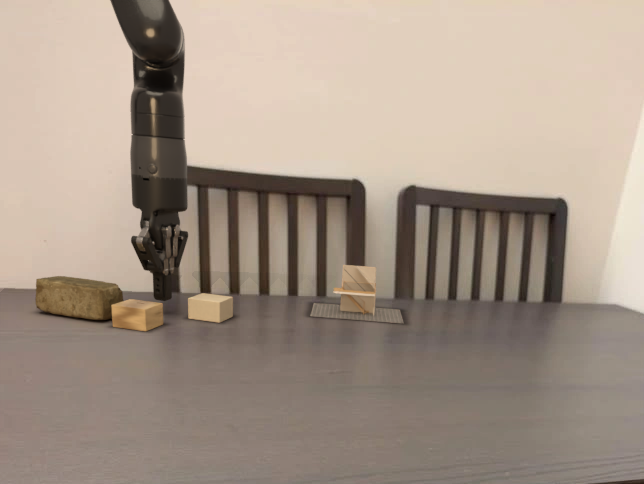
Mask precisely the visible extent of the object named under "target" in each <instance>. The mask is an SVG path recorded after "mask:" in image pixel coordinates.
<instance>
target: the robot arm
mask: <svg viewBox="0 0 644 484" xmlns="http://www.w3.org/2000/svg"><path fill="white" fill-rule="evenodd" d="M109 1H110V3H111V6H112V10H113V12H114V15H115V17H116V20H117V22H118V24H119V28H120V30H121V32H122V34H123V37H124V39H125V41H126V43H127V45H128V47H129V49H130V50H131V55H132V56H131V57H132V71H133V72H132V76H133V89H132V92H131V94H130V104H129V105H130V107H129V108H130V109H129V111H130V130H131V132H130V133H131V134H130V135H131V136H130V138H131V140H130V151H129V153H130V155H129V156H130V158H129V159H130V160H129V161H130V181H131V203H132V206H133V208H135V209H138V210H140V211H141V216H140V220H139V226H140V227H139V228H140V232H139V234H138V235H132V236H131V238H130V243H131V245H132V248H133V250H134V252H135V254H136V256H137V258H138V260H139V262H140V264H141V267H142V268H143V270H144V271H148V272H149V273H150V274H152V289H153V292H152V293H153V294H152V295H153V299H154V300H155V301H162V302H166V301H170V300H171V299H172V298H173V287H172V285H173V284H172V283H173V281H172V274H174V272H175V269H176V268H177V269H178V268H179V267H180V265H181V263H182V259H183V255H184V252H185V248H186V246H187V242H188V239H189V232H188V231H186V230H182V229H181V227H180V226H181V219H180V215H179V213H182V212H186V211H187V210H188V208H189V207H188V206H189V204H188V202H189V201H188V156H187V155H188V154H187V148H186V140H185V139H186V127H185V126H186V123H185V122H186V121H185V115H186V114H185V104H184V84H185V83H184V82H185V65H186V37H185V33H184V32H185V31H184V29H183V26H182V25H181V22H180V20H179V19H178V17H177V14H176V12H175V10H174V8H173V6H172V4H171V2H170V0H109Z"/></svg>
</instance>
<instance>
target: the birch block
mask: <svg viewBox="0 0 644 484" xmlns="http://www.w3.org/2000/svg"><path fill="white" fill-rule="evenodd" d="M111 307H112V318H111V320H112V327H113V328H118V329H125V330H133V331H139V332H148V331H151V330H153V329H156V328H159V327H160V326H164V305H163V303H162V302H157V301H156V302H155V301H148V300H141V299H133V298H129V299H127V300H124V301H122V302H119V303H116V304H113V305H111Z"/></svg>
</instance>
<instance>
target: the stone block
mask: <svg viewBox="0 0 644 484" xmlns="http://www.w3.org/2000/svg"><path fill="white" fill-rule="evenodd" d="M35 281H36V282H35V298H34V300H35V306H36V309H38V310H40V311H42V312H44V313H50V314H53V315H60V316H65V317H73V318H82V319H85V320H92V321H93V320H94V321H106V320H112V307H111V305H113V304H116V303H119V302H122V301H125V300H124V295H123V290H122V289H121V288H120V287H119V285H118V284H117V283H113V282H107V281H102V280H95V279H89V278H81V277H72V276H66V275H65V276H64V275H55V276H49V277H41V278H36V280H35Z"/></svg>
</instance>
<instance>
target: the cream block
mask: <svg viewBox="0 0 644 484" xmlns="http://www.w3.org/2000/svg"><path fill="white" fill-rule="evenodd" d="M187 311H188V313H187V315H188V317H187V319H189V320H196V321H204V322H210V323H217V324H218V323H219V324H220V323H222V322H224V321H226V320H229V319H231V318H233V317H234V297H233V296H230V295H229V296H228V295H221V294H215V293H205V292H201V293H198V294H196V295H194V296H191V297H187Z"/></svg>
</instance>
